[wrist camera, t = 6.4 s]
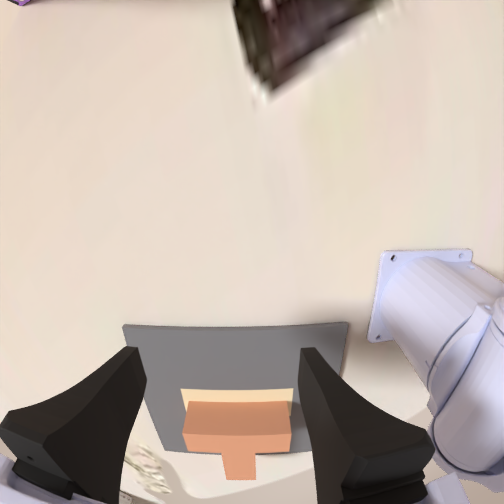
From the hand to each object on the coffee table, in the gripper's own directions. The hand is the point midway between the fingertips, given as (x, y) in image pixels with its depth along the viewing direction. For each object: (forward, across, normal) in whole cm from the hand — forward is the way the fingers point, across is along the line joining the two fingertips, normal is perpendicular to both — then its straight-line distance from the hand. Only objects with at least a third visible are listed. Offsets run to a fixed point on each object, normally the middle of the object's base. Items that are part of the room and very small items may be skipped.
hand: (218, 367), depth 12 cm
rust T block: (+9, 0, +17) cm, 19 cm away
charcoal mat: (+9, 0, +13) cm, 16 cm away
